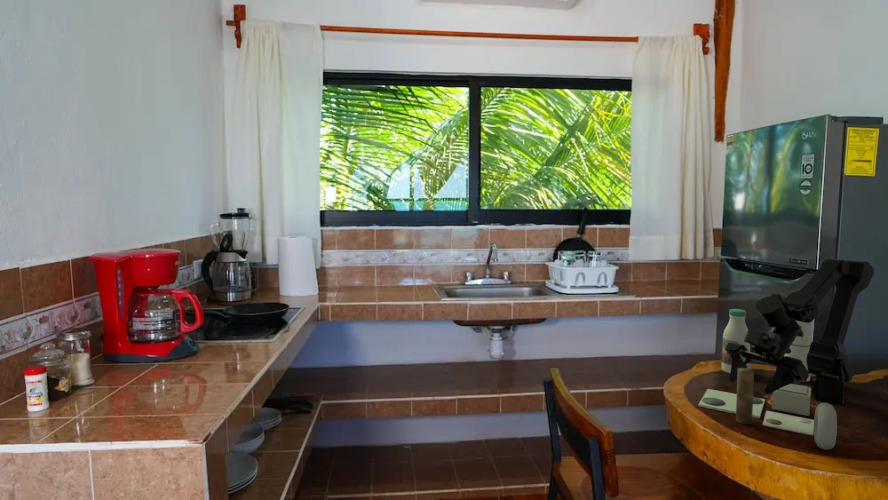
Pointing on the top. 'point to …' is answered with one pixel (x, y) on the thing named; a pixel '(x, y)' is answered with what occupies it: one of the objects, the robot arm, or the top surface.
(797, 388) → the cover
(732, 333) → the milk bottle
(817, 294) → the robot arm
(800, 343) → the cylindrical container
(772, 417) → the card
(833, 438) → the donut
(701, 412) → the top surface
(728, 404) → the board
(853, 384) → the top surface
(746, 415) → the pin
